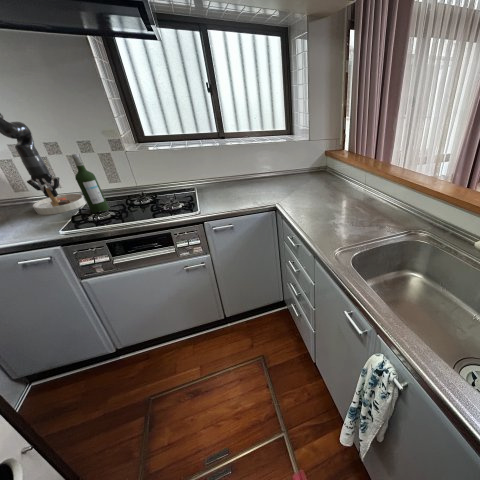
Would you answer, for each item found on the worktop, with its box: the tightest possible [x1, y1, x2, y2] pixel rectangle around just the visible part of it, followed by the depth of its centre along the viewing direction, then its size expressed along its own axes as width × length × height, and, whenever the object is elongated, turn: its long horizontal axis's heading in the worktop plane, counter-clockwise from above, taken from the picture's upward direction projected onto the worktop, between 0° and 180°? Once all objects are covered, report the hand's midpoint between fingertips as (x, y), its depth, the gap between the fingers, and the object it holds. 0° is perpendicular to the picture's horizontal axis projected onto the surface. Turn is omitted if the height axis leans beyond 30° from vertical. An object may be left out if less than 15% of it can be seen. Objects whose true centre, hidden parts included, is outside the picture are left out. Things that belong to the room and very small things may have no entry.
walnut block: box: [58, 200, 70, 206], centre depth 147 cm, size 4×4×4 cm
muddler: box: [45, 187, 60, 207], centre depth 144 cm, size 4×4×10 cm
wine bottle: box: [71, 153, 110, 214], centre depth 138 cm, size 8×8×30 cm
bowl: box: [32, 193, 87, 216], centre depth 148 cm, size 21×21×4 cm
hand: (52, 196), depth 144 cm, fingers closed on muddler, 2 cm apart
